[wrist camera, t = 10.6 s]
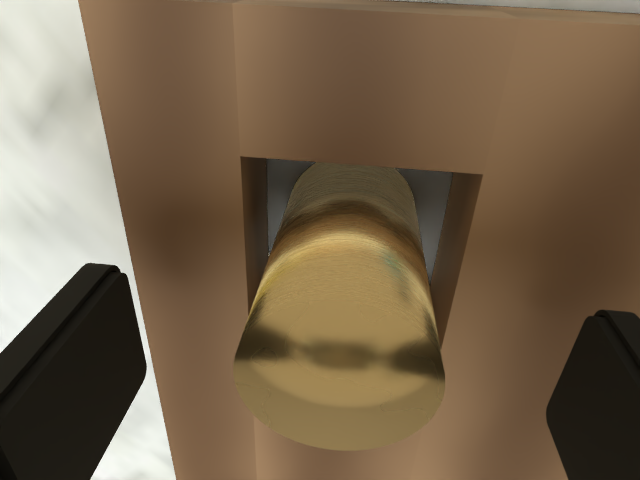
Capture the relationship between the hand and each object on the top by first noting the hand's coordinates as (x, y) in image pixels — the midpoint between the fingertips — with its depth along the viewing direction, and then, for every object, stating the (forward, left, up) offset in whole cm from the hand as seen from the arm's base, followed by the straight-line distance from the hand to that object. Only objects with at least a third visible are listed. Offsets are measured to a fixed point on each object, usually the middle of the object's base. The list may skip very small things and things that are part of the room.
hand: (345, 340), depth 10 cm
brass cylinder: (0, 0, -6) cm, 6 cm away
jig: (-2, +3, -6) cm, 7 cm away
